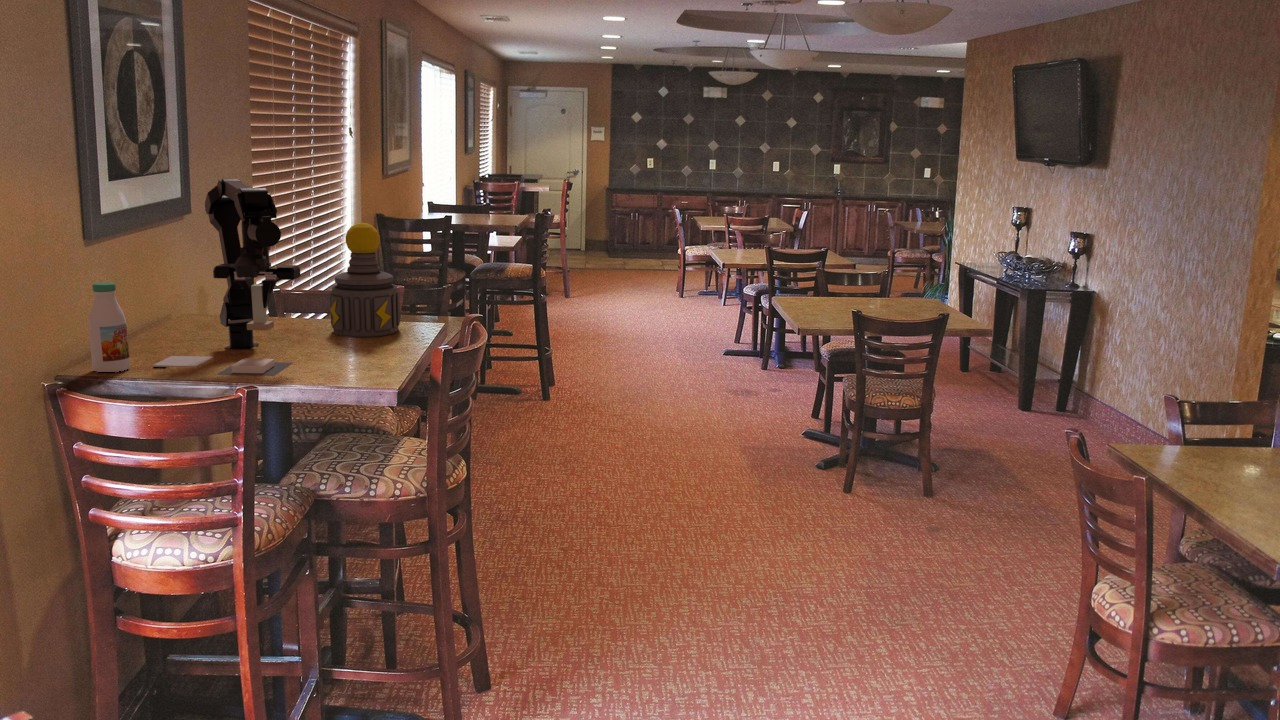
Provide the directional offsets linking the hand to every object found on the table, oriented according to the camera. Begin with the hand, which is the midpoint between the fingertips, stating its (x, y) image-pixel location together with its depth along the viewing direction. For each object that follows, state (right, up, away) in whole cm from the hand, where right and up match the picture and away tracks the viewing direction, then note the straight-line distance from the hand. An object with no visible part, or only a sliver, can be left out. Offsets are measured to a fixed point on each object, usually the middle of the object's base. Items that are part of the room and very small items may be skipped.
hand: (259, 307), depth 246 cm
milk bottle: (-30, -15, -10) cm, 35 cm away
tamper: (0, -5, +1) cm, 5 cm away
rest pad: (-17, -13, -2) cm, 22 cm away
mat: (+2, -15, -7) cm, 16 cm away
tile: (+2, -13, -5) cm, 14 cm away
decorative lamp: (+15, -5, +41) cm, 43 cm away
